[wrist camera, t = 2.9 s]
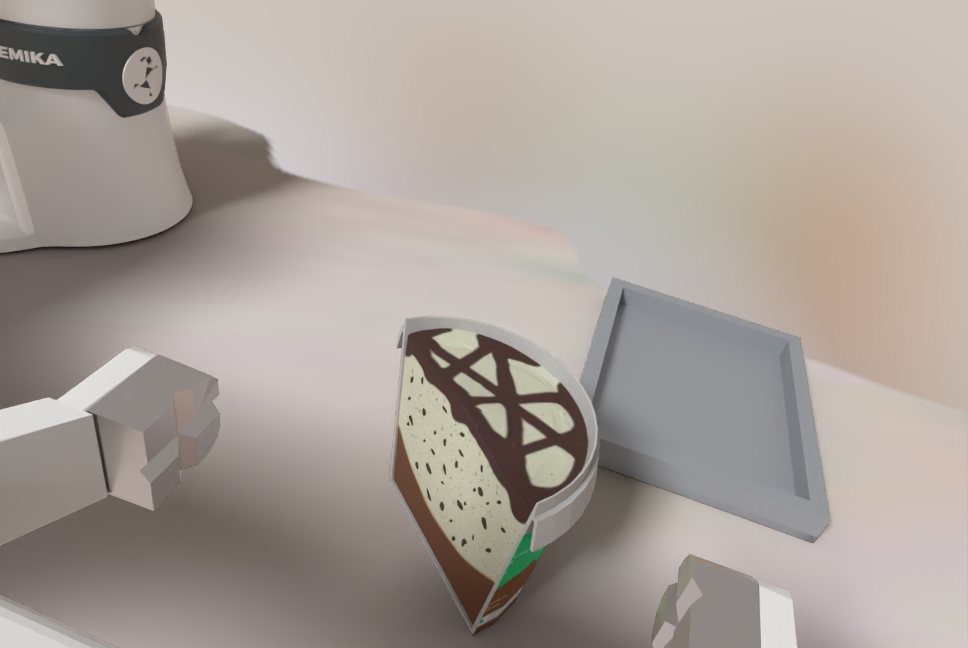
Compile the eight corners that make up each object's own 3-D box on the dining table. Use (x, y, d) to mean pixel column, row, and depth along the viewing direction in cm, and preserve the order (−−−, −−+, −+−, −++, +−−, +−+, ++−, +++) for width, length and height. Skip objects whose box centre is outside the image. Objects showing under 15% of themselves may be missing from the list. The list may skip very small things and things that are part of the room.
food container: (600, 614, 32) (674, 469, 26) (489, 666, 29) (546, 516, 23) (475, 434, 40) (512, 294, 35) (378, 460, 37) (400, 311, 32)
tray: (558, 451, 40) (567, 426, 39) (605, 297, 56) (612, 277, 55) (813, 543, 38) (830, 520, 37) (788, 357, 54) (800, 337, 53)
